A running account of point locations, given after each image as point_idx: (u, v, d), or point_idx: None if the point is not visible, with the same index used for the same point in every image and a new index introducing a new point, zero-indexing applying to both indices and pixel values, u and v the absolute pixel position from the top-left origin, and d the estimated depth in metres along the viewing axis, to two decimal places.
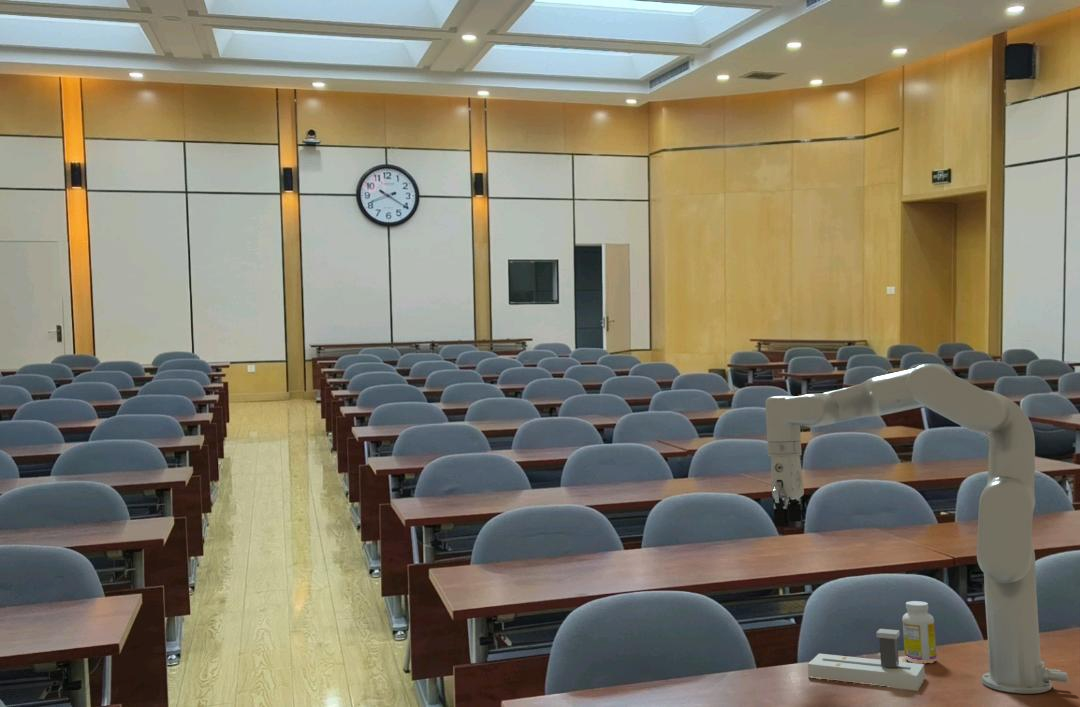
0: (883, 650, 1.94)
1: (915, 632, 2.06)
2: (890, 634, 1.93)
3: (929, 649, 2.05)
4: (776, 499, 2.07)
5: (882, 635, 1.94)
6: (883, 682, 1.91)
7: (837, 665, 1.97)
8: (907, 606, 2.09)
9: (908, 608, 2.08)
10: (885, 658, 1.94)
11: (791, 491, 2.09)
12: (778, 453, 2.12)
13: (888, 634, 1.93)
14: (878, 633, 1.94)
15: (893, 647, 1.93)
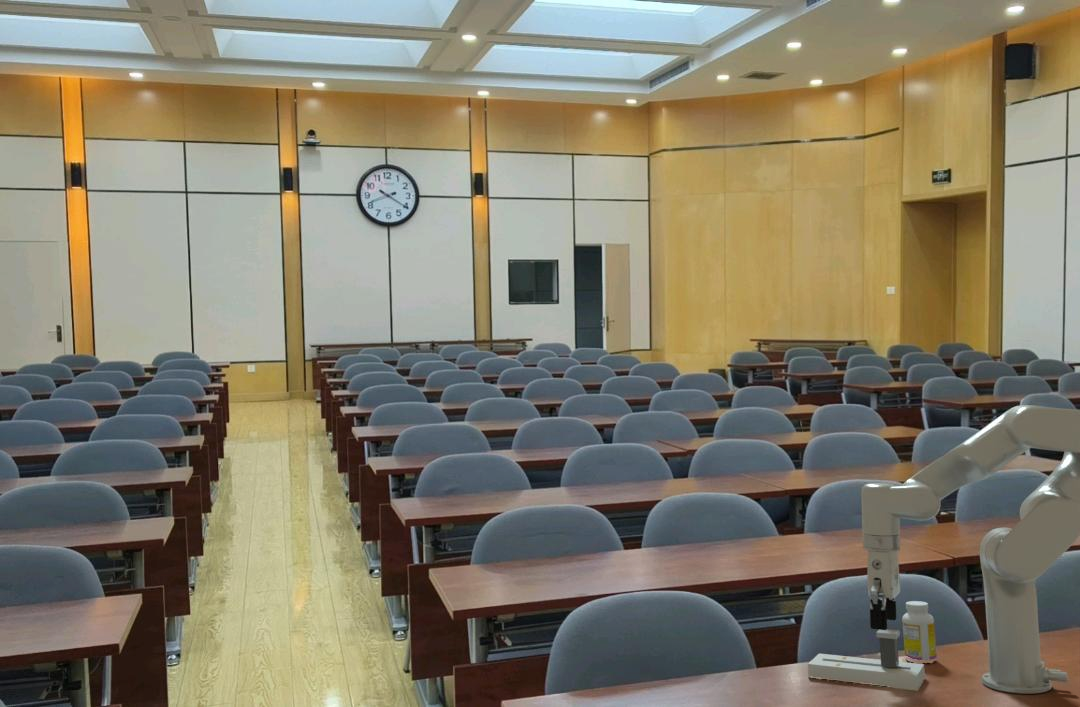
0: (883, 650, 1.94)
1: (915, 632, 2.06)
2: (890, 634, 1.93)
3: (929, 649, 2.05)
4: (874, 600, 1.89)
5: (882, 635, 1.94)
6: (883, 682, 1.91)
7: (837, 665, 1.97)
8: (907, 606, 2.09)
9: (908, 608, 2.08)
10: (885, 658, 1.94)
11: (890, 591, 1.90)
12: (876, 548, 1.93)
13: (888, 634, 1.93)
14: (878, 633, 1.94)
15: (893, 647, 1.93)
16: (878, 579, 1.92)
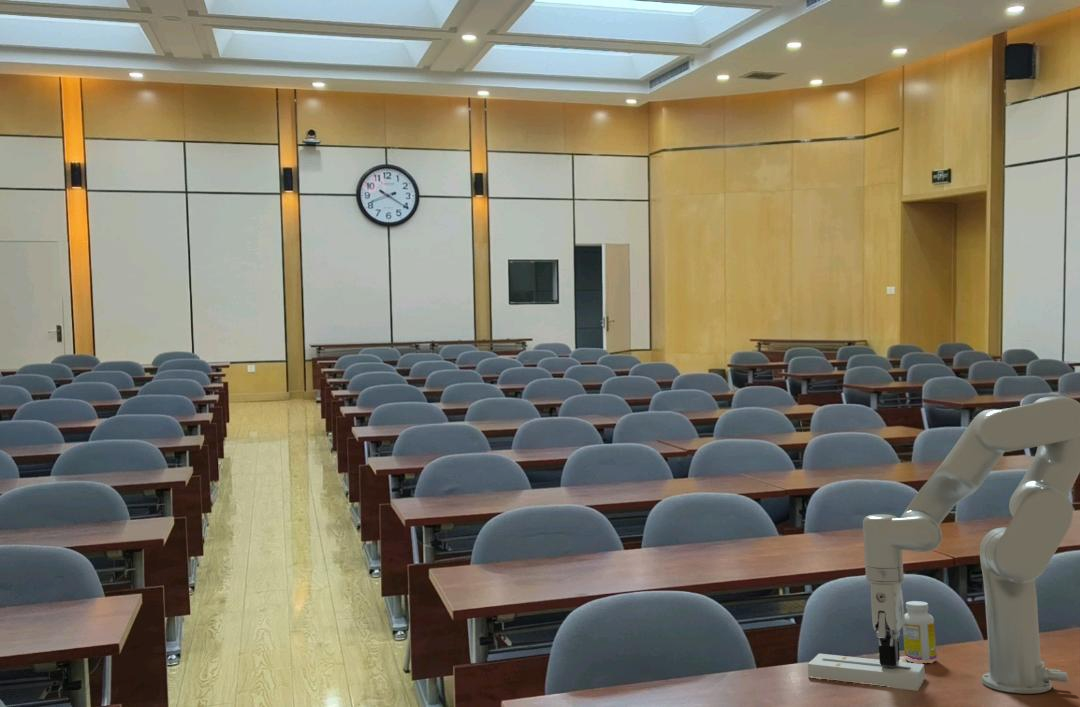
0: None
1: (915, 632, 2.06)
2: None
3: (928, 649, 2.05)
4: (883, 639, 1.91)
5: None
6: (883, 682, 1.91)
7: (837, 665, 1.97)
8: (907, 606, 2.09)
9: (909, 608, 2.08)
10: None
11: (895, 624, 1.90)
12: (879, 580, 1.93)
13: (888, 634, 1.93)
14: None
15: None
16: (883, 616, 1.91)
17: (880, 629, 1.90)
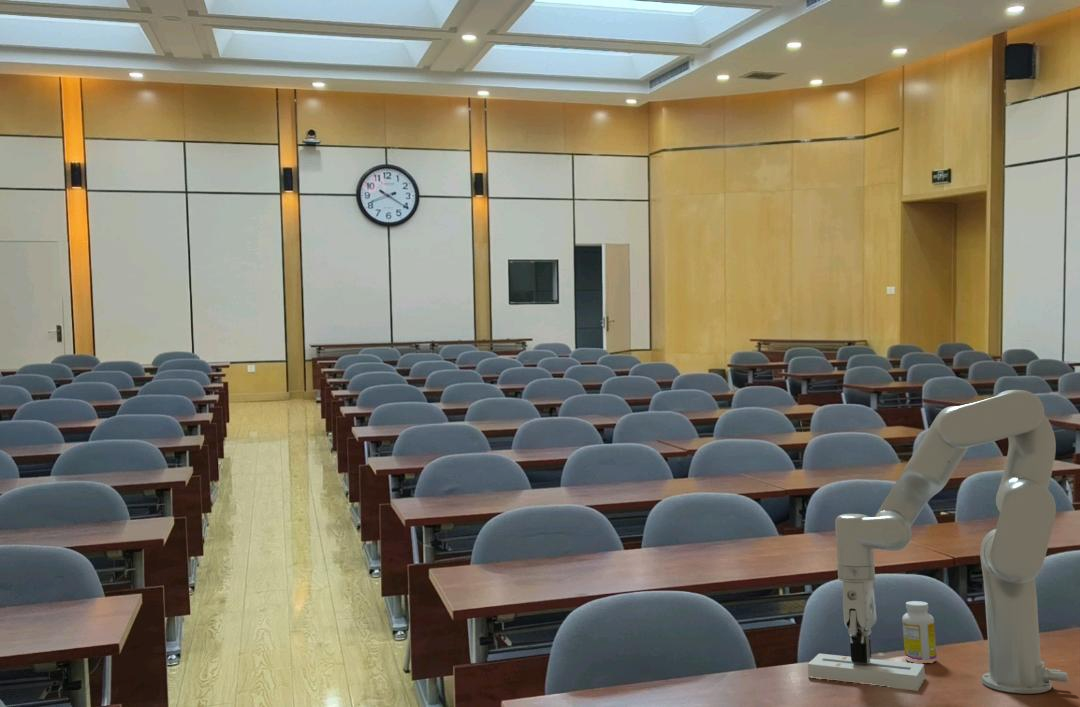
0: None
1: (915, 632, 2.06)
2: None
3: (929, 649, 2.05)
4: (854, 637, 1.94)
5: None
6: (883, 682, 1.91)
7: (837, 665, 1.97)
8: (907, 606, 2.09)
9: (908, 608, 2.08)
10: None
11: (866, 622, 1.93)
12: (851, 579, 1.96)
13: None
14: None
15: None
16: (854, 613, 1.94)
17: (851, 627, 1.93)
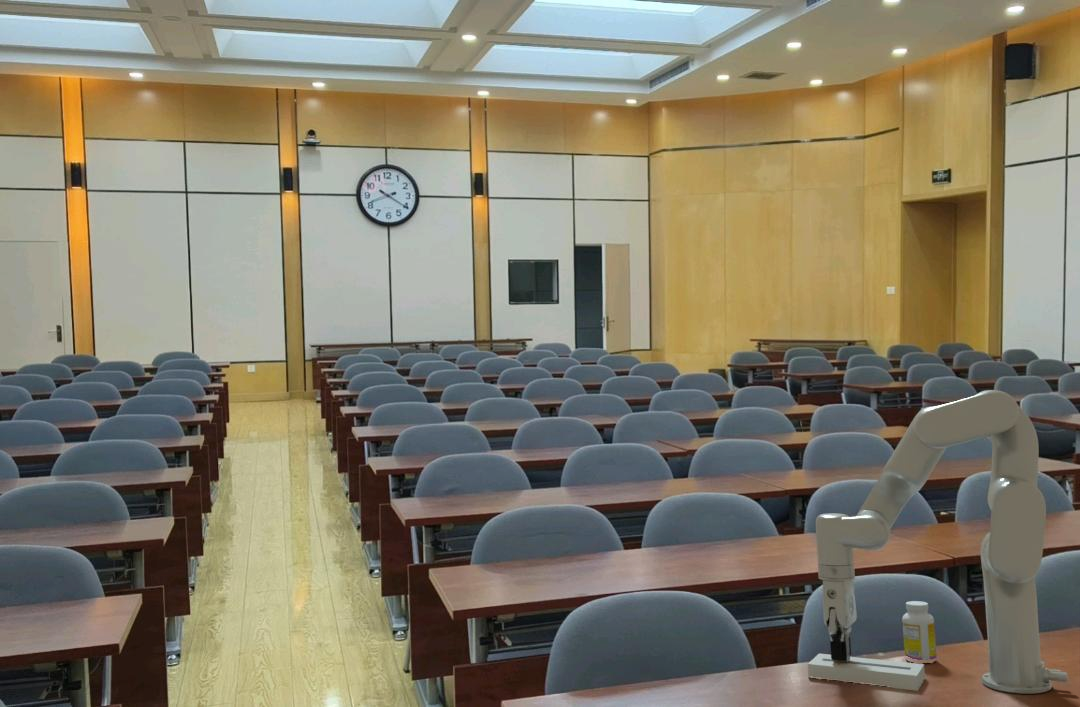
0: None
1: (915, 632, 2.06)
2: None
3: (929, 649, 2.05)
4: (833, 635, 1.96)
5: None
6: (883, 682, 1.91)
7: (837, 665, 1.97)
8: (907, 606, 2.09)
9: (909, 608, 2.08)
10: None
11: (845, 620, 1.95)
12: (830, 577, 1.98)
13: (839, 630, 1.99)
14: None
15: None
16: (834, 612, 1.96)
17: (831, 625, 1.95)
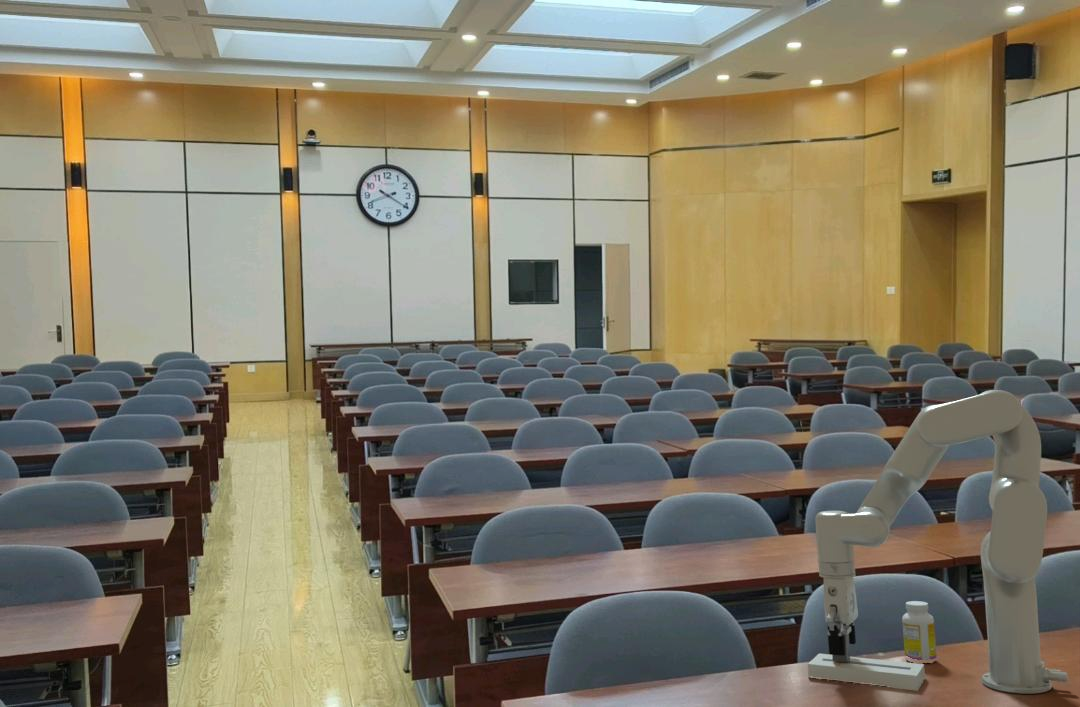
0: None
1: (915, 632, 2.06)
2: None
3: (928, 649, 2.05)
4: (831, 627, 1.94)
5: None
6: (883, 682, 1.91)
7: (837, 665, 1.97)
8: (907, 606, 2.09)
9: (908, 608, 2.08)
10: None
11: (846, 617, 1.95)
12: (831, 575, 1.98)
13: None
14: None
15: (844, 642, 1.98)
16: (834, 606, 1.96)
17: (831, 610, 1.95)
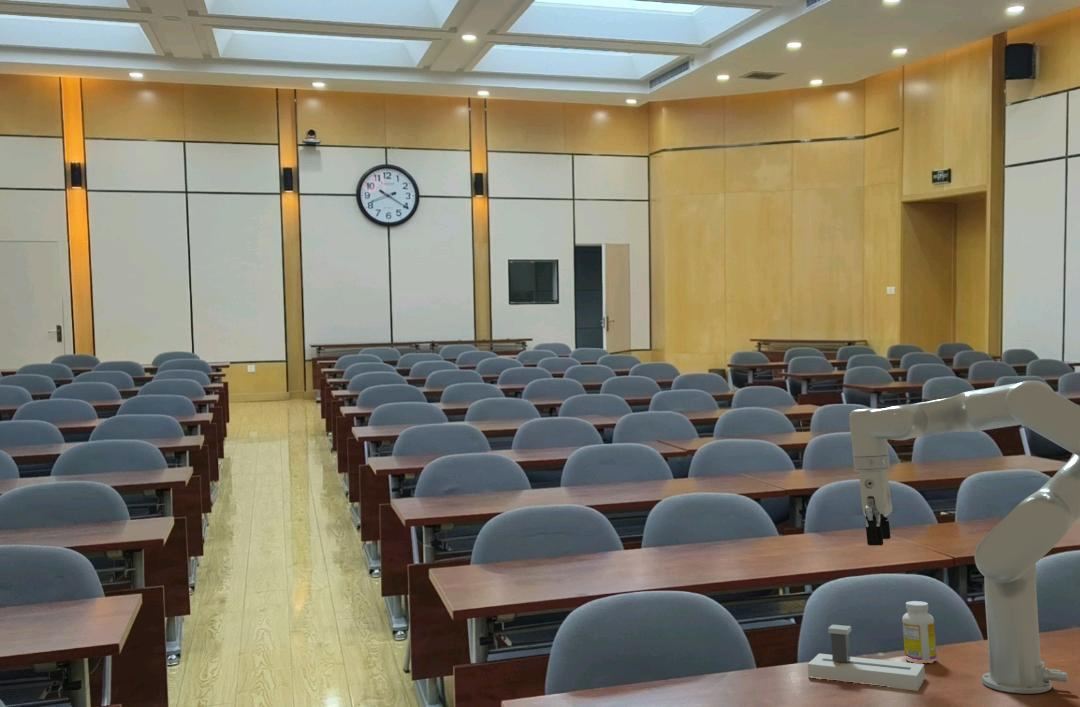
0: (835, 645, 1.99)
1: (915, 632, 2.06)
2: (841, 630, 1.98)
3: (928, 649, 2.05)
4: (869, 517, 1.98)
5: (833, 631, 1.99)
6: (883, 682, 1.91)
7: (837, 665, 1.97)
8: (907, 606, 2.09)
9: (909, 608, 2.08)
10: (837, 653, 1.99)
11: (884, 508, 2.00)
12: (867, 468, 2.03)
13: (839, 630, 1.99)
14: (830, 629, 2.00)
15: (844, 642, 1.98)
16: (871, 497, 2.01)
17: (868, 501, 2.00)
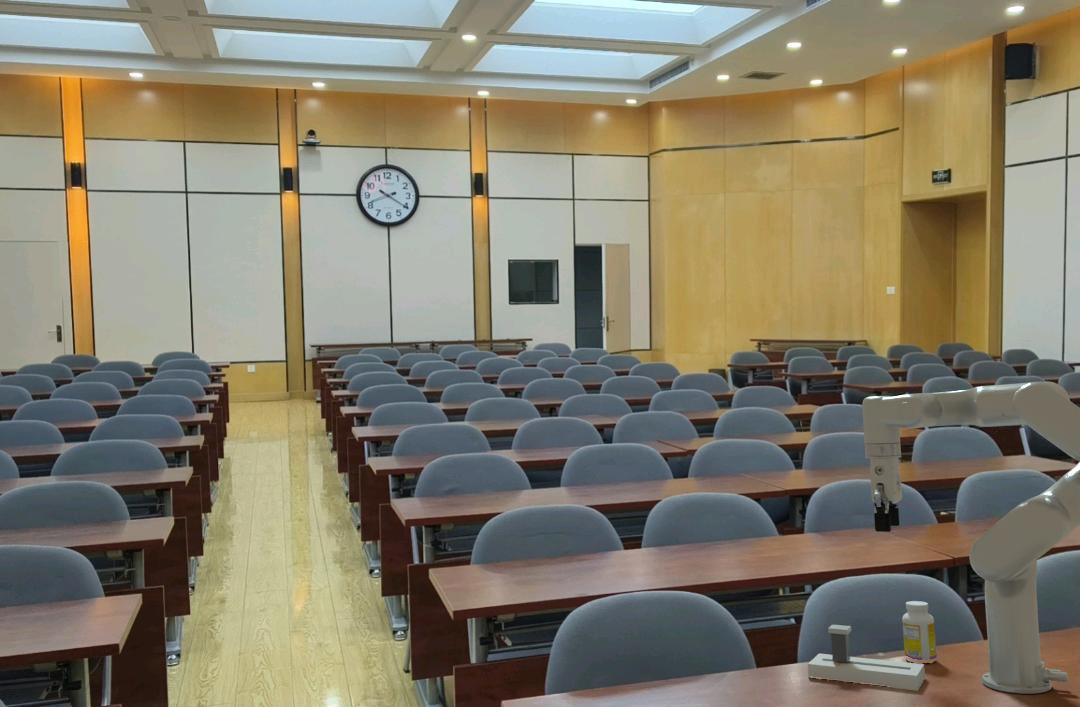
0: (835, 645, 1.99)
1: (915, 632, 2.06)
2: (841, 630, 1.98)
3: (929, 649, 2.05)
4: (878, 503, 2.00)
5: (833, 631, 1.99)
6: (883, 682, 1.91)
7: (837, 665, 1.97)
8: (907, 606, 2.09)
9: (908, 608, 2.08)
10: (837, 653, 1.99)
11: (893, 495, 2.01)
12: (878, 455, 2.04)
13: (839, 630, 1.99)
14: (830, 629, 2.00)
15: (844, 642, 1.98)
16: (881, 484, 2.02)
17: (877, 488, 2.01)
